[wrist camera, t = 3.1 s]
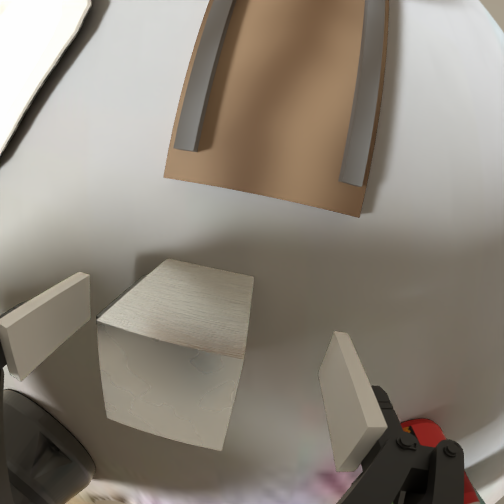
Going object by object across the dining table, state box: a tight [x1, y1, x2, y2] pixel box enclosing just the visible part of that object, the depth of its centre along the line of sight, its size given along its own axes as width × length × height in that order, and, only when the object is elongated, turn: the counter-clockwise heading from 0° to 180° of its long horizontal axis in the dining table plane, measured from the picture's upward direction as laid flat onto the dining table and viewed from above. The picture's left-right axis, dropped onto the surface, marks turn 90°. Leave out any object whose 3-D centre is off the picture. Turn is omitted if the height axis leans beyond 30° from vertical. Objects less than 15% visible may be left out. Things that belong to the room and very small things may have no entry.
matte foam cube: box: [96, 258, 254, 451], centre depth 13 cm, size 6×5×8 cm
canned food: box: [392, 419, 480, 504], centre depth 14 cm, size 8×8×11 cm
